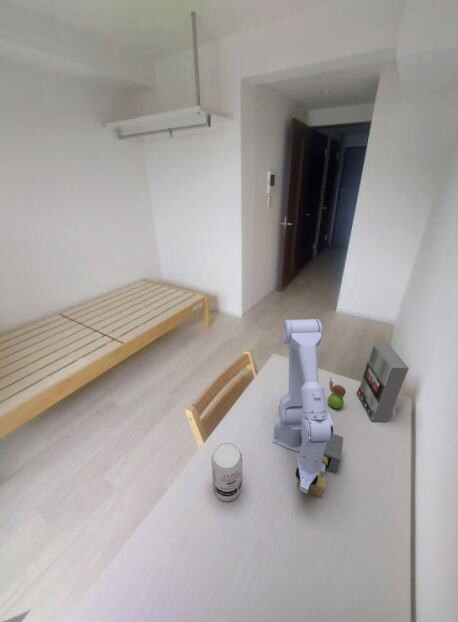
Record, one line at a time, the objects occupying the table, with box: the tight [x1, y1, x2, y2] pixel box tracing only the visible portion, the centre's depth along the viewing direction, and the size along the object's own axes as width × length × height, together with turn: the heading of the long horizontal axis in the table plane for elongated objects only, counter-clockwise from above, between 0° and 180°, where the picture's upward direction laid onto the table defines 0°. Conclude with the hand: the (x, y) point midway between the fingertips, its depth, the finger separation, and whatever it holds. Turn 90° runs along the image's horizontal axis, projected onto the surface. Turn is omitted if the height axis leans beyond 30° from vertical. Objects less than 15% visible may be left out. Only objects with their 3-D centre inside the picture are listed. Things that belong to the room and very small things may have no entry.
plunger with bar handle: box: [296, 456, 329, 498], centre depth 81 cm, size 7×15×5 cm, turn 155°
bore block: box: [323, 433, 344, 475], centre depth 84 cm, size 10×8×7 cm
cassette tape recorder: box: [356, 342, 410, 423], centre depth 96 cm, size 14×6×25 cm, turn 178°
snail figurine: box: [327, 377, 347, 409], centre depth 100 cm, size 5×6×12 cm
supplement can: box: [210, 442, 243, 502], centre depth 74 cm, size 8×8×15 cm
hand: (305, 481), depth 76 cm, fingers closed on plunger with bar handle, 2 cm apart
